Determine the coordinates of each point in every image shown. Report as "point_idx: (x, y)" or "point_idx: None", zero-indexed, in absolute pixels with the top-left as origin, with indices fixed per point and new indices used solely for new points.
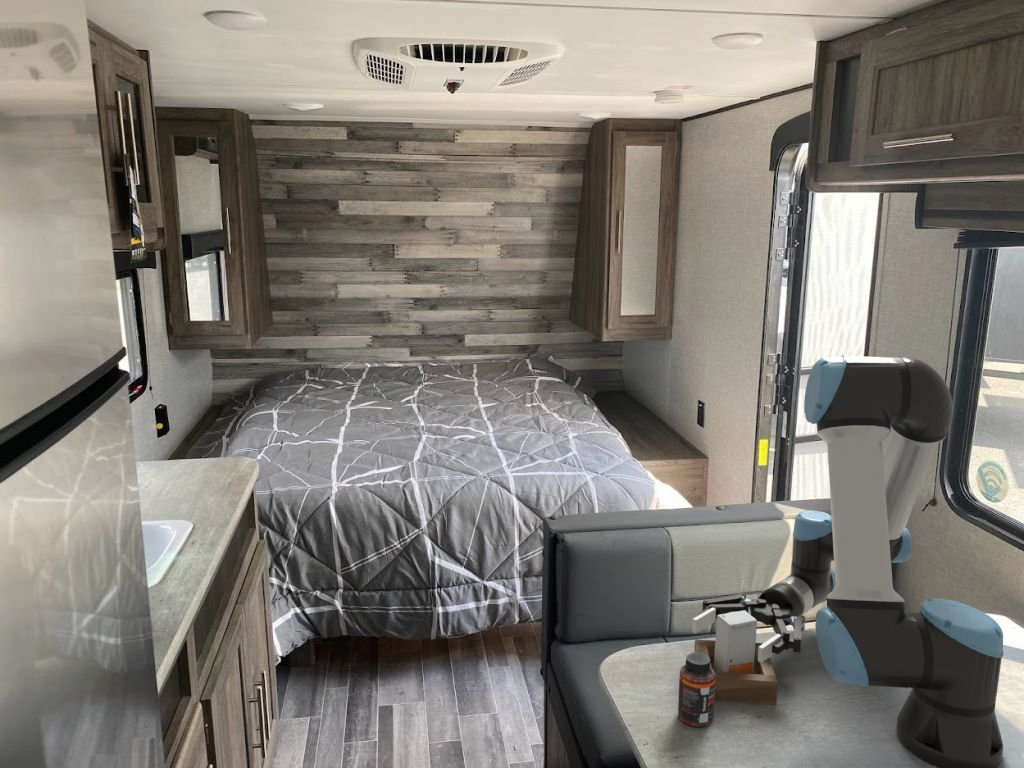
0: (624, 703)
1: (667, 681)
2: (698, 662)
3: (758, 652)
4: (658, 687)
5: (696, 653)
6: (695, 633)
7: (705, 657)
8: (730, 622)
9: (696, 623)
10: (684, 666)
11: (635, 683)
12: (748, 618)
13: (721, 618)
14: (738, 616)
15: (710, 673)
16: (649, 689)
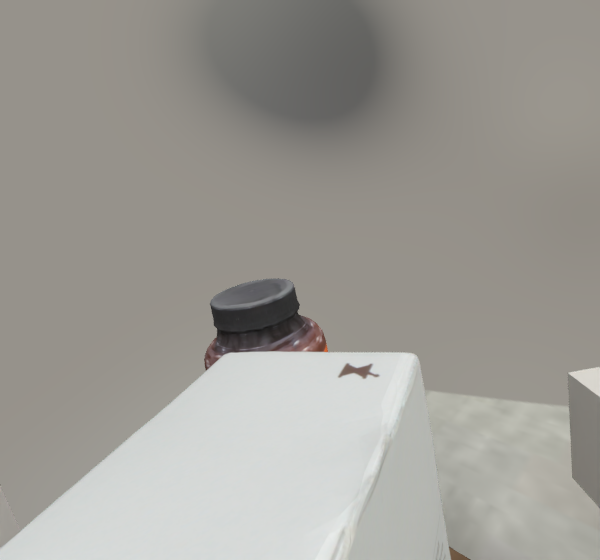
0: (465, 398)
1: (544, 547)
2: (237, 287)
3: (12, 517)
4: (510, 496)
5: (272, 292)
6: (572, 476)
7: (234, 301)
8: (238, 364)
9: (573, 405)
10: (302, 316)
11: (563, 454)
12: (75, 532)
13: (341, 353)
14: (223, 464)
15: (215, 346)
16: (508, 469)
